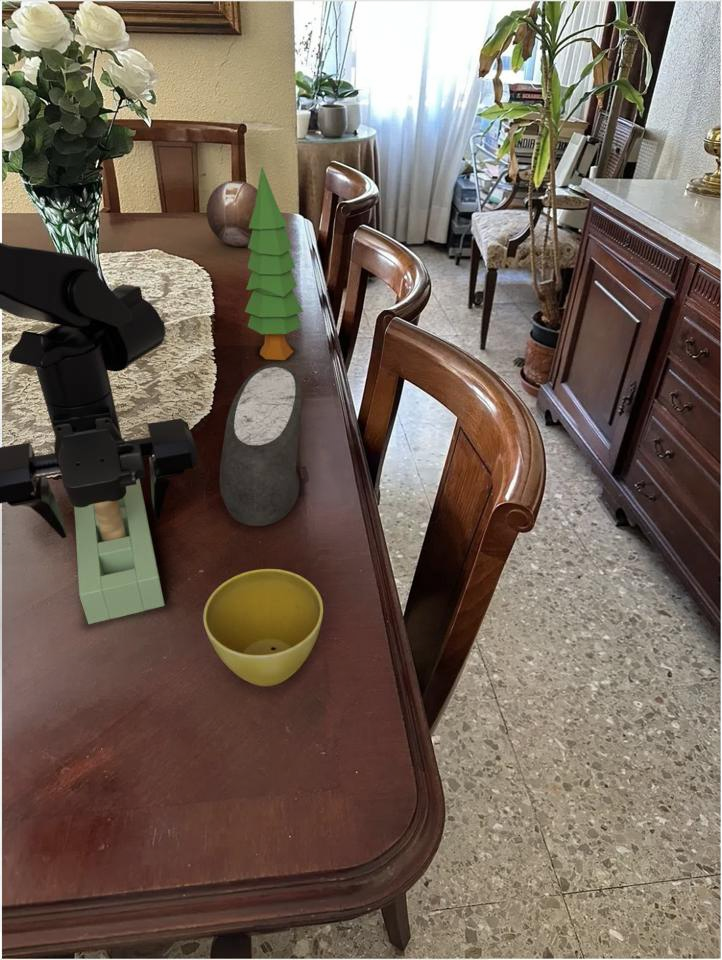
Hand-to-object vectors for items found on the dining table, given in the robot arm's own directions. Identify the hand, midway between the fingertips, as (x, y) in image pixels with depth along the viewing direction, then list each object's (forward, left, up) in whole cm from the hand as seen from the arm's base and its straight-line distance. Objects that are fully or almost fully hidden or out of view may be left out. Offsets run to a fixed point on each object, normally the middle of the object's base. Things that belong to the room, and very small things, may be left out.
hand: (111, 525), depth 69 cm
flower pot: (+11, -19, -5) cm, 23 cm away
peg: (0, 0, -4) cm, 4 cm away
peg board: (0, 0, -4) cm, 4 cm away
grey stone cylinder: (+19, +11, -5) cm, 23 cm away
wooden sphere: (+38, +110, -5) cm, 116 cm away
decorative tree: (+30, +46, -5) cm, 55 cm away
